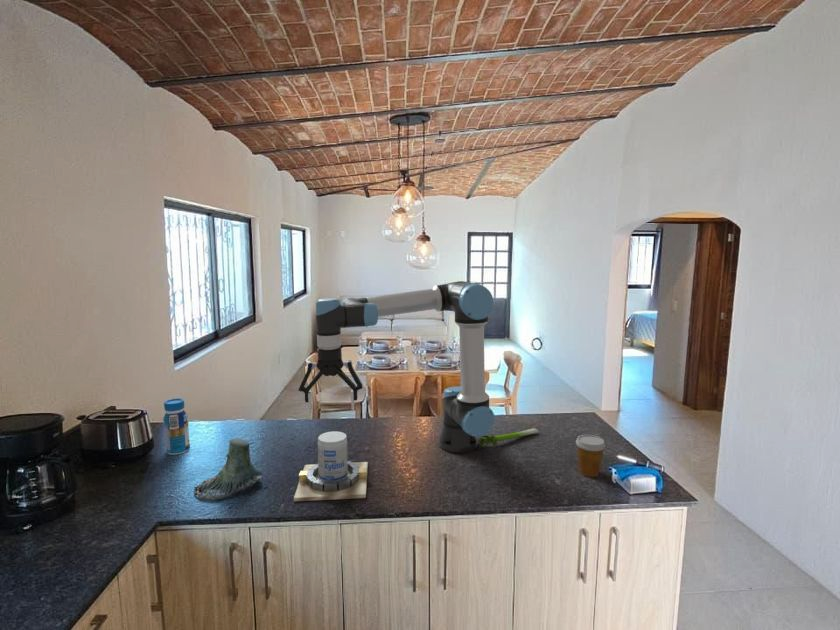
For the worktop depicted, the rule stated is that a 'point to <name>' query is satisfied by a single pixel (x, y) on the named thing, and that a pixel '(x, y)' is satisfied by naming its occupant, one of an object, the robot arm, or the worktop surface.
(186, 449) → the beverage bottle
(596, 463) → the disposable coffee cup
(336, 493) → the base plate
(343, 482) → the ring
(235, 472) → the tree stump
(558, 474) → the worktop surface
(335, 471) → the supplement tub
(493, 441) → the leek
